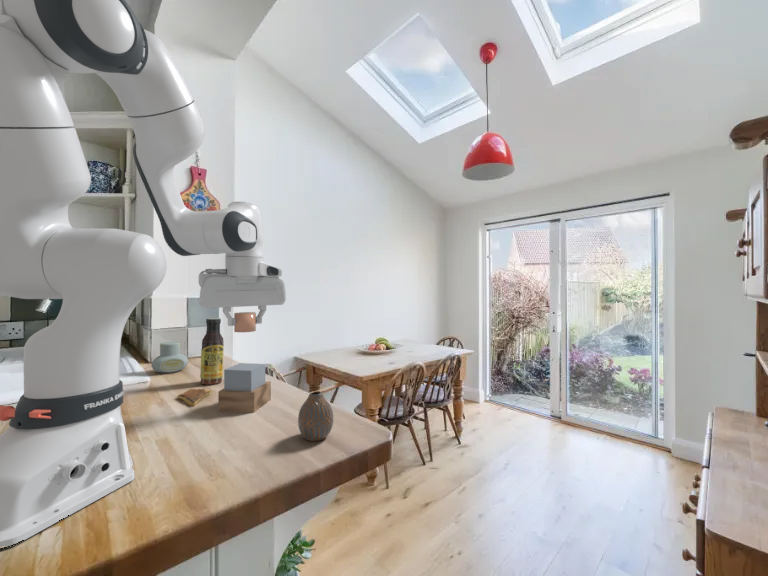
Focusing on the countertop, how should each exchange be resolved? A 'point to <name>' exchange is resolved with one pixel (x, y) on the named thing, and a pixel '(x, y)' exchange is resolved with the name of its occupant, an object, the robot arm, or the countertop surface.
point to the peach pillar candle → (245, 322)
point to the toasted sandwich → (194, 396)
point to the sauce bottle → (212, 353)
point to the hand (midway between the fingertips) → (245, 324)
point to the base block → (244, 399)
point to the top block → (244, 377)
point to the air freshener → (169, 358)
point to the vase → (315, 417)
